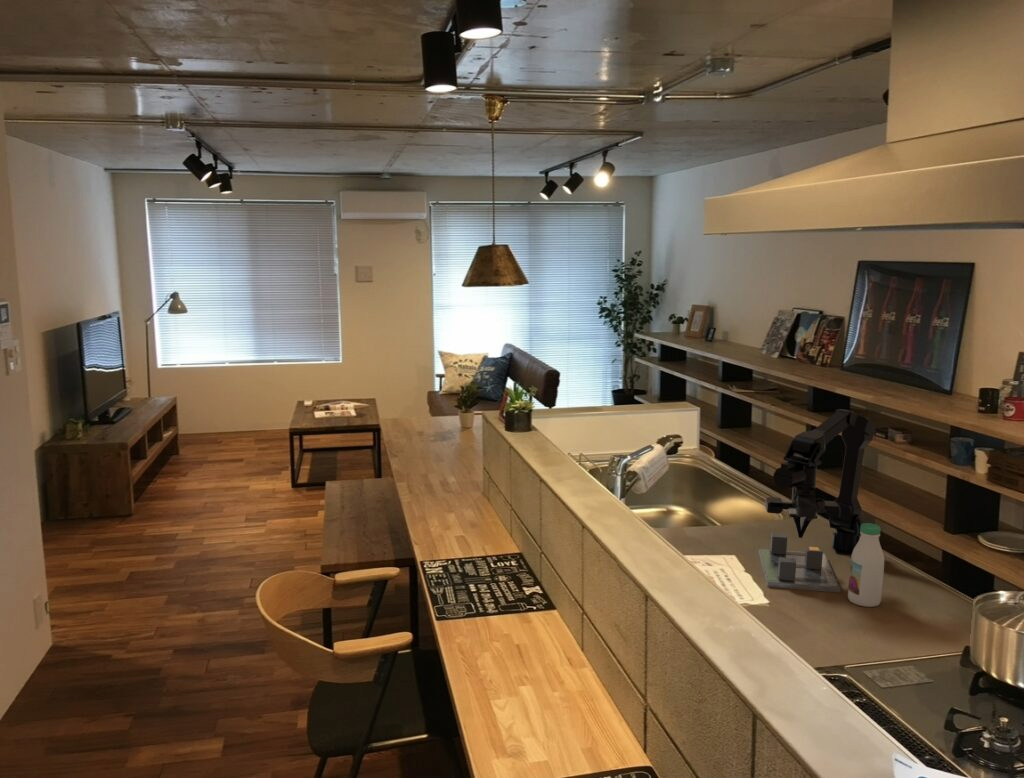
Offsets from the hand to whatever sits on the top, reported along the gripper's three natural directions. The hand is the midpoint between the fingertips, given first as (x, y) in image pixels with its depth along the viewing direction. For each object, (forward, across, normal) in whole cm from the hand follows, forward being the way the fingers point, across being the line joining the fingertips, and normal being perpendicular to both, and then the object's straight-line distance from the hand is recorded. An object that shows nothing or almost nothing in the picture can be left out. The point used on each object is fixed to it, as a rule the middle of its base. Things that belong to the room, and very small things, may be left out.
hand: (800, 537), depth 227 cm
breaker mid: (+8, +4, 0) cm, 9 cm away
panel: (+10, 0, 0) cm, 10 cm away
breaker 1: (+8, -4, +9) cm, 13 cm away
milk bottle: (+10, +14, -16) cm, 23 cm away
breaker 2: (+8, -4, -9) cm, 13 cm away
